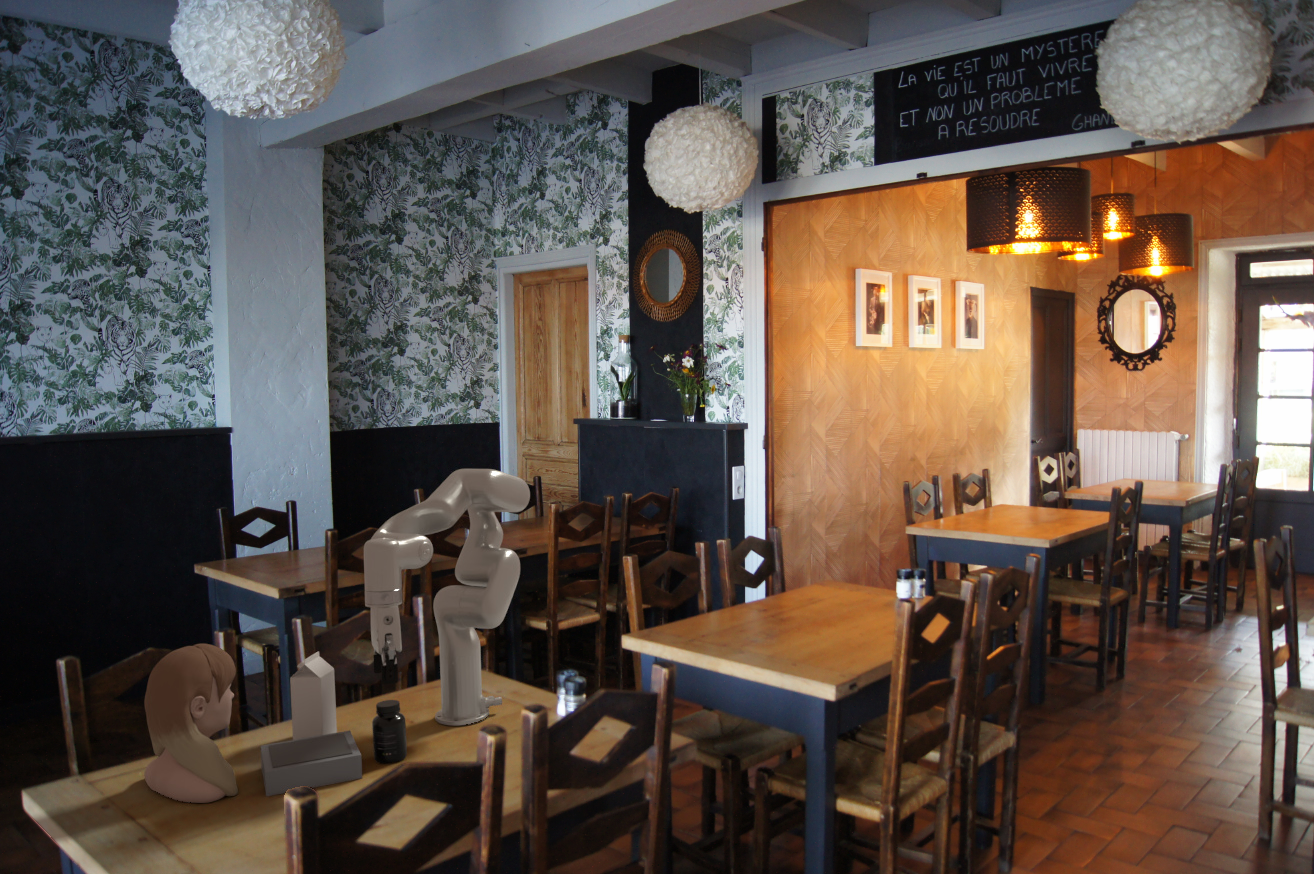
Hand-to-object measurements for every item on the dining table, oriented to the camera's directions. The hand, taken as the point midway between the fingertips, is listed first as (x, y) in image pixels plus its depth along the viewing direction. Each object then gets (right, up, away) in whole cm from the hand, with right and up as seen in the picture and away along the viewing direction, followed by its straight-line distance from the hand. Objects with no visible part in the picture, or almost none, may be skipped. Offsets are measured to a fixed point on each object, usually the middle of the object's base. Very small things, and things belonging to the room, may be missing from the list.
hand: (385, 677), depth 202 cm
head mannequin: (-35, -19, -10) cm, 41 cm away
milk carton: (-20, -18, +15) cm, 30 cm away
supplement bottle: (+1, -18, +1) cm, 18 cm away
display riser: (-14, -18, -6) cm, 24 cm away
